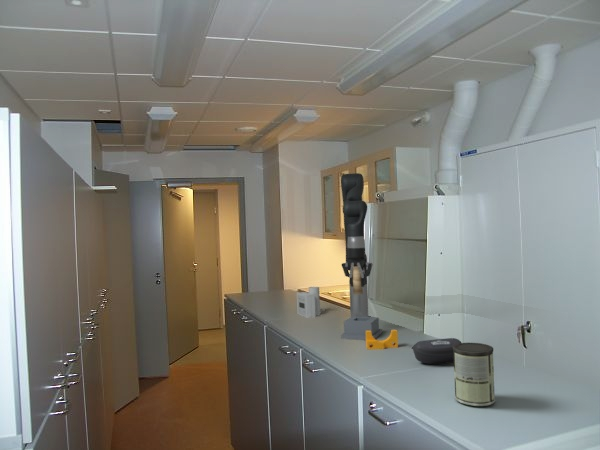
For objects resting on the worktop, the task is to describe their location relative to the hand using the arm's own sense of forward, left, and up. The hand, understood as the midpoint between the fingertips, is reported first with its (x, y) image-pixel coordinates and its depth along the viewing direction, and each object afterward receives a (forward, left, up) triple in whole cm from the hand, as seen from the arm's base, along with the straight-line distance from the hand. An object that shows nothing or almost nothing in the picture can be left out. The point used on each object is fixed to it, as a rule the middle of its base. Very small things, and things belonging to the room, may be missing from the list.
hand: (357, 286), depth 209 cm
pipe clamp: (+17, +14, -22) cm, 31 cm away
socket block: (0, +1, -21) cm, 21 cm away
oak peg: (0, 0, -3) cm, 3 cm away
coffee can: (+64, +51, -22) cm, 84 cm away
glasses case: (+31, +37, -22) cm, 53 cm away
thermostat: (-39, -37, -22) cm, 58 cm away
